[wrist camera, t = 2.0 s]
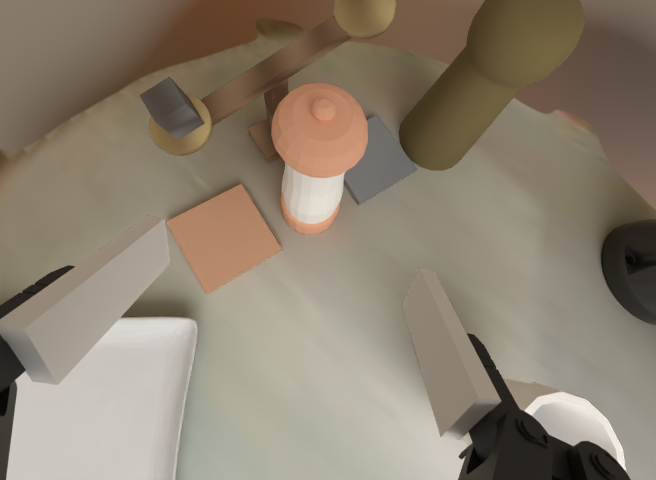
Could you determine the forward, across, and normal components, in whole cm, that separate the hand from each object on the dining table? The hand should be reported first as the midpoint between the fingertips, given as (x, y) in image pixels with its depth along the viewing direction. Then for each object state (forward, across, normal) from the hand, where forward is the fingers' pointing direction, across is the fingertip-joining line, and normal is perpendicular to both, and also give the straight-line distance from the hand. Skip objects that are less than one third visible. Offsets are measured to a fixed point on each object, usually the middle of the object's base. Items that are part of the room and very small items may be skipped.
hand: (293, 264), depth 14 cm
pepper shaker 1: (+21, 0, +6) cm, 22 cm away
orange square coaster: (+17, +9, +10) cm, 22 cm away
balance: (+28, +6, 0) cm, 28 cm away
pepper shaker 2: (+31, -16, -4) cm, 36 cm away
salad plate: (+2, +18, +26) cm, 32 cm away
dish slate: (+27, -7, 0) cm, 28 cm away
